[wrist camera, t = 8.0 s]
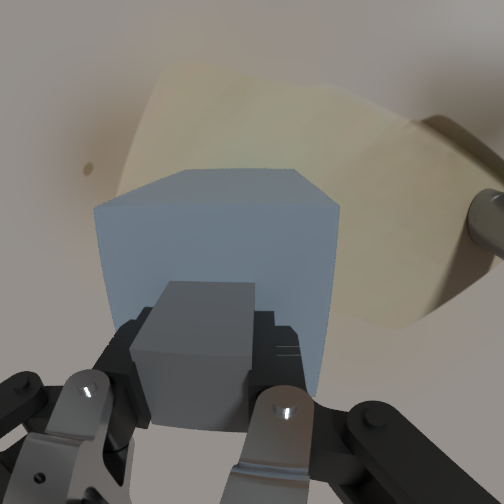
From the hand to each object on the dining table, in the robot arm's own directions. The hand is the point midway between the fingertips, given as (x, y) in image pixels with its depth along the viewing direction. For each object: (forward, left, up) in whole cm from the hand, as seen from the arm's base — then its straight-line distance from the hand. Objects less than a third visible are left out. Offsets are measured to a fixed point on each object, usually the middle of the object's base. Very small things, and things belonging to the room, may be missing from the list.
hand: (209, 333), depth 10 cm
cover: (0, 0, -15) cm, 15 cm away
